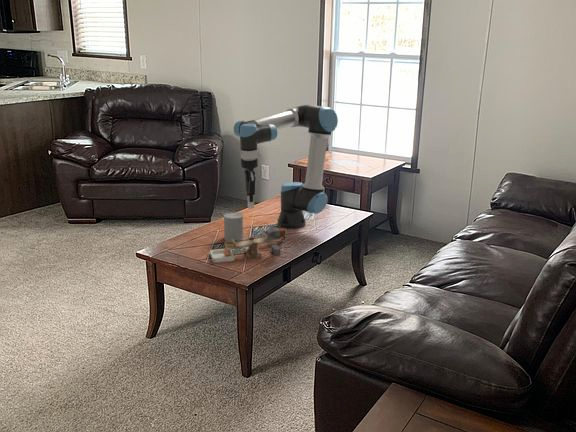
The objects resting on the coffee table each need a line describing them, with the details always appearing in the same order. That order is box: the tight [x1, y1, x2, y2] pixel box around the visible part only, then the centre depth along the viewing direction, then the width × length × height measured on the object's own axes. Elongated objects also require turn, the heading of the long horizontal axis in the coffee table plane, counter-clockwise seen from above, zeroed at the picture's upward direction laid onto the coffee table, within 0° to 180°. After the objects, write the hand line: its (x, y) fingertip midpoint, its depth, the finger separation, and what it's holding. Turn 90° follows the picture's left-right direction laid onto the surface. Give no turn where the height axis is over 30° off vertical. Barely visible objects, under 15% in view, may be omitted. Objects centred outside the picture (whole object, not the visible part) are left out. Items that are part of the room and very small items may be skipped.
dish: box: [209, 248, 235, 264], centre depth 272 cm, size 10×11×2 cm
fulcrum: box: [244, 236, 262, 259], centre depth 275 cm, size 6×8×7 cm
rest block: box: [270, 244, 282, 256], centre depth 278 cm, size 3×6×2 cm, turn 16°
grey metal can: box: [223, 211, 244, 243], centre depth 294 cm, size 10×10×12 cm
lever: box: [224, 227, 282, 251], centre depth 273 cm, size 26×6×5 cm, turn 105°
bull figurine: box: [259, 227, 287, 246], centre depth 289 cm, size 4×13×8 cm, turn 113°
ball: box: [223, 248, 232, 256], centre depth 272 cm, size 4×4×4 cm
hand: (251, 207), depth 272 cm, fingers closed
